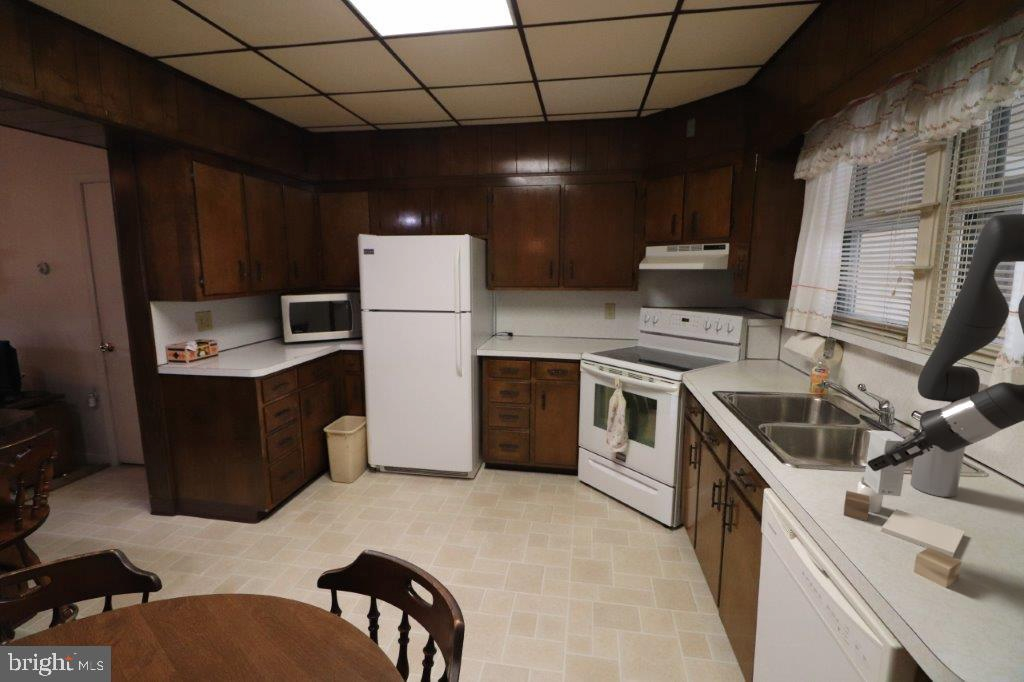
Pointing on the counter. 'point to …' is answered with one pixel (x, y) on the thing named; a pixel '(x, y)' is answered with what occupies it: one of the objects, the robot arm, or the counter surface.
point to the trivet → (923, 532)
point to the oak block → (937, 567)
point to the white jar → (870, 496)
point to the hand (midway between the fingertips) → (876, 461)
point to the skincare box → (890, 476)
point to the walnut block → (856, 505)
